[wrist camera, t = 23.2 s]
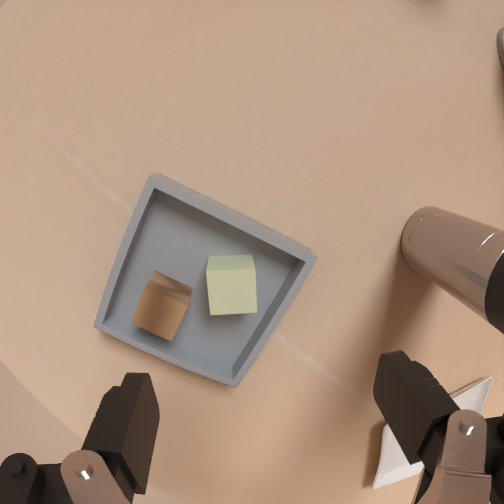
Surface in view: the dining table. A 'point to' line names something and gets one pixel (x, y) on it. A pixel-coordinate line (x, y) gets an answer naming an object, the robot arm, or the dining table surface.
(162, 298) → the walnut block
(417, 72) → the dining table surface
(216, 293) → the sage block
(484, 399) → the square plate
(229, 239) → the tray
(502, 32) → the webcam
